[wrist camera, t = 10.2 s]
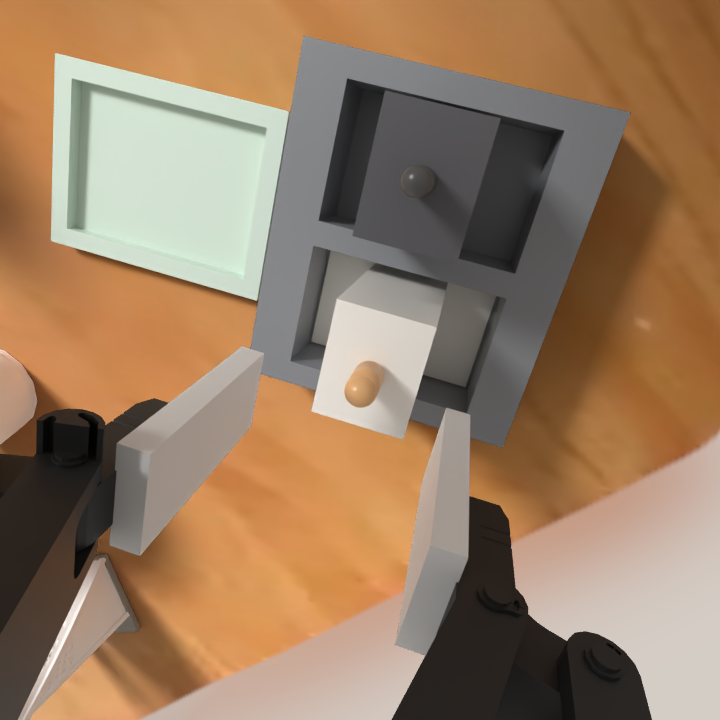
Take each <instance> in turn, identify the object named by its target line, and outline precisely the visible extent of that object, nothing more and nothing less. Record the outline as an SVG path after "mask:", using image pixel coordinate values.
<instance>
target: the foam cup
mask: <svg viewBox="0 0 720 720" xmlns="http://www.w3.org/2000/svg"><path fill="white" fill-rule="evenodd" d="M36 405H37V397H36V392H35V387H34V383H33V381H32V379H31V378H30V376H29V374H28V373H27V371H26V370H25V368H24V367H23V365H22V364H21V363H20V362H19V361H17V360H16V359H15V358H14V357H12V356H11V355H10V354H8V353H7V352H6V351H4V350H1V349H0V444H2V443H3V442H4V441H5V440H7V439H8V438H9V437H10V436H12V435H13V434H14V433H16V432H17V431H18V430H19V429H20V428H21V427H23V426H24V425H25V424H26V423H27V422H28V421H29V420H31V419H32V418H33V417H34V413H35V409H36Z"/></svg>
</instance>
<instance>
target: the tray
mask: <svg viewBox="0 0 720 720" xmlns="http://www.w3.org/2000/svg"><path fill="white" fill-rule="evenodd" d="M289 118H290V112H289V111H285V110H281V109H277V108H273V107H269V106H265V105H261V104H257V103H253V102H249V101H245V100H241V99H237V98H233V97H229V96H225V95H221V94H217V93H213V92H209V91H205V90H201V89H197V88H193V87H189V86H185V85H181V84H177V83H173V82H169V81H165V80H161V79H157V78H153V77H149V76H145V75H141V74H137V73H133V72H129V71H125V70H121V69H117V68H113V67H109V66H105V65H101V64H97V63H93V62H89V61H85V60H81V59H77V58H73V57H69V56H65V55H61V54H57V53H55V84H54V128H53V172H52V217H51V241H53V242H56V243H60V244H63V245H67V246H70V247H73V248H77V249H80V250H84V251H87V252H91V253H94V254H97V255H101V256H104V257H108V258H111V259H115V260H118V261H122V262H125V263H128V264H132V265H135V266H139V267H142V268H146V269H149V270H153V271H156V272H159V273H163V274H166V275H170V276H173V277H177V278H180V279H184V280H187V281H190V282H194V283H197V284H201V285H204V286H208V287H211V288H215V289H218V290H221V291H225V292H228V293H232V294H235V295H239V296H242V297H245V298H249V299H252V300H256V301H257V300H259V294H260V288H261V283H262V277H263V271H264V265H265V259H266V253H267V247H268V241H269V236H270V230H271V224H272V218H273V212H274V206H275V200H276V194H277V189H278V183H279V177H280V171H281V165H282V159H283V153H284V147H285V142H286V136H287V130H288V124H289Z"/></svg>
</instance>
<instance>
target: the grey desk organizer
mask: <svg viewBox="0 0 720 720" xmlns="http://www.w3.org/2000/svg"><path fill="white" fill-rule="evenodd" d="M630 114H631V112H627V111H623V110H618V109H614V108H610V107H606V106H601V105H597V104H593V103H588V102H584V101H580V100H576V99H571V98H567V97H563V96H559V95H554V94H550V93H546V92H541V91H537V90H533V89H529V88H524V87H520V86H516V85H512V84H507V83H503V82H499V81H494V80H490V79H486V78H482V77H477V76H473V75H469V74H465V73H460V72H456V71H452V70H447V69H443V68H439V67H435V66H430V65H426V64H422V63H417V62H413V61H409V60H405V59H400V58H396V57H392V56H388V55H383V54H379V53H375V52H370V51H366V50H362V49H358V48H353V47H349V46H345V45H341V44H336V43H332V42H328V41H323V40H319V39H315V38H311V37H306V36H303V42H302V48H301V53H300V59H299V65H298V71H297V77H296V83H295V89H294V95H293V100H292V106H291V112H290V118H289V124H288V130H287V136H286V142H285V147H284V153H283V159H282V165H281V171H280V177H279V183H278V189H277V194H276V200H275V206H274V212H273V218H272V224H271V230H270V236H269V241H268V247H267V253H266V259H265V265H264V271H263V277H262V283H261V288H260V294H259V300H258V306H257V312H256V318H255V324H254V330H253V335H252V341H251V347H250V349H252V350H256V351H259V352H262V353H264V358H263V363H262V369H261V374H262V375H266V376H269V377H272V378H275V379H279V380H282V381H285V382H289V383H292V384H295V385H298V386H302V387H305V388H308V389H311V390H315V391H316V389H317V385H318V380H319V376H320V371H321V367H322V362H323V358H324V353H325V349H326V345H327V340H328V336H329V331H330V327H331V322H332V318H333V314H334V309H335V305H336V300H337V298H338V297H339V296H340V295H342V294H343V293H344V292H345V291H346V290H347V289H348V288H349V287H350V286H351V285H352V284H353V283H355V282H356V281H357V280H358V279H359V278H360V277H361V276H362V275H363V274H364V273H365V272H366V271H368V270H369V269H370V268H371V267H372V266H373V265H374V264H375V263H379V264H382V265H386V266H390V267H393V268H397V269H400V270H404V271H408V272H411V273H415V274H419V275H422V276H426V277H429V278H433V279H437V280H440V281H444V282H448V284H447V289H446V293H445V297H444V301H443V305H442V309H441V313H440V317H439V321H438V325H437V329H436V332H435V336H434V339H433V342H432V346H431V349H430V352H429V355H428V359H427V362H426V365H425V369H424V372H423V375H422V379H421V382H420V385H419V389H418V392H417V395H416V398H415V402H414V405H413V408H412V412H411V415H410V418H409V419H410V420H413V421H416V422H420V423H423V424H426V425H429V426H433V427H436V428H440V425H441V422H442V419H443V416H444V413H445V410H446V408H449V409H453V410H456V411H459V412H463V413H466V414H469V415H470V438H472V439H475V440H479V441H482V442H485V443H488V444H492V445H495V446H498V447H501V448H503V445H504V443H505V440H506V438H507V435H508V432H509V430H510V427H511V425H512V422H513V419H514V417H515V414H516V411H517V409H518V406H519V404H520V401H521V398H522V396H523V393H524V391H525V388H526V385H527V383H528V380H529V377H530V375H531V372H532V370H533V367H534V364H535V362H536V359H537V357H538V354H539V351H540V349H541V346H542V344H543V341H544V338H545V336H546V333H547V330H548V328H549V325H550V323H551V320H552V317H553V315H554V312H555V310H556V307H557V304H558V302H559V299H560V296H561V294H562V291H563V289H564V286H565V283H566V281H567V278H568V276H569V273H570V270H571V268H572V265H573V263H574V260H575V257H576V255H577V252H578V249H579V247H580V244H581V242H582V239H583V236H584V234H585V231H586V229H587V226H588V223H589V221H590V218H591V215H592V213H593V210H594V208H595V205H596V202H597V200H598V197H599V195H600V192H601V189H602V187H603V184H604V182H605V179H606V176H607V174H608V171H609V168H610V166H611V163H612V161H613V158H614V155H615V153H616V150H617V148H618V145H619V142H620V140H621V137H622V134H623V132H624V129H625V127H626V124H627V121H628V119H629V116H630Z"/></svg>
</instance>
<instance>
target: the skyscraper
mask: <svg viewBox="0 0 720 720" xmlns="http://www.w3.org/2000/svg"><path fill="white" fill-rule="evenodd" d="M139 628H140V625H139V623H138V621H137V619H136V616H135V614H134V612H133V610H132V608H131V605H130V603H129V601H128V599H127V597H126V595H125V592H124V590H123V588H122V586H121V584H120V582H119V579H118V577H117V575H116V573H115V571H114V568H113V566H112V564H111V562H110V560H109V558H108V555H107V554H101V555H96V556H95V558H94V560H93V562H92V565H91V567H90V569H89V571H88V573H87V575H86V577H85V579H84V581H83V584H82V586H81V588H80V590H79V592H78V594H77V596H76V598H75V600H74V603H73V605H72V607H71V609H70V611H69V613H68V615H67V617H66V619H65V621H64V624H63V626H62V628H61V630H60V632H59V634H58V636H57V638H56V640H55V643H54V645H53V647H52V649H51V651H50V653H49V655H48V657H47V659H46V662H45V664H44V666H43V668H42V670H41V672H40V674H39V676H38V678H37V680H36V683H35V685H34V687H33V689H32V691H31V693H30V695H29V697H28V699H27V702H26V704H25V706H24V708H23V710H22V712H21V714H20V716H19V718H18V720H30V718H31V717H32V715H33V713H34V712H35V711H36V710H37V709H38V708H39V707H40V706H41V705H42V704H43V703H44V702H45V701H46V700H47V699H48V698H49V697H50V696H51V695H52V694H53V693H54V692H55V691H56V690H57V689H58V688H59V687H60V686H61V685H62V684H63V683H64V682H65V681H66V680H67V679H68V678H69V677H70V676H71V675H72V674H73V673H74V672H75V671H76V670H77V669H78V668H79V667H80V666H81V665H82V664H83V663H84V662H85V661H86V660H87V659H88V658H89V657H90V656H91V655H92V654H93V653H94V652H95V651H96V650H97V649H98V648H99V647H100V646H101V645H102V643H103V642H104V641H105V640H106V639H107V638H108V637H109V636H110V635H111V634H112V633H121V632H137V631H138V630H139Z"/></svg>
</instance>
